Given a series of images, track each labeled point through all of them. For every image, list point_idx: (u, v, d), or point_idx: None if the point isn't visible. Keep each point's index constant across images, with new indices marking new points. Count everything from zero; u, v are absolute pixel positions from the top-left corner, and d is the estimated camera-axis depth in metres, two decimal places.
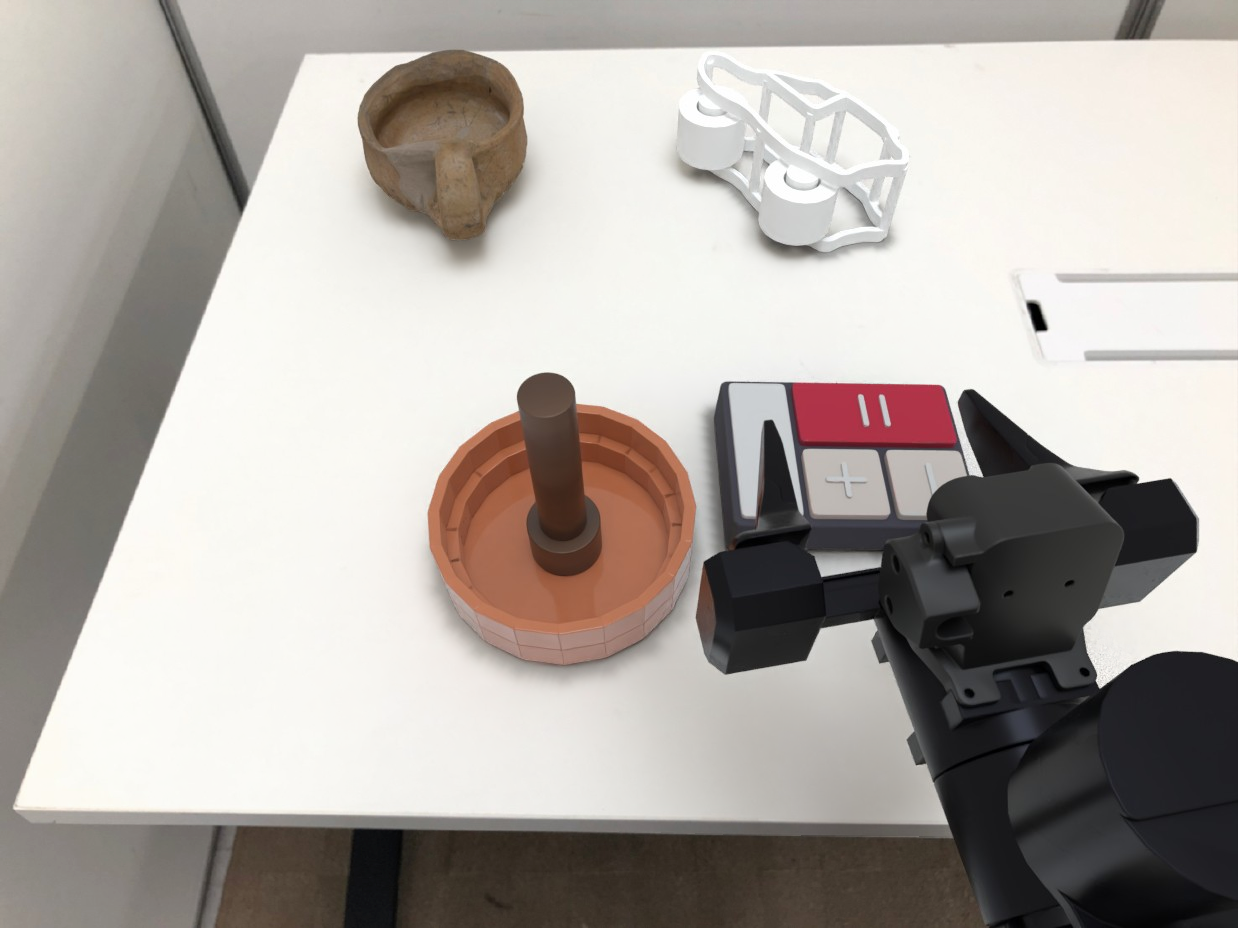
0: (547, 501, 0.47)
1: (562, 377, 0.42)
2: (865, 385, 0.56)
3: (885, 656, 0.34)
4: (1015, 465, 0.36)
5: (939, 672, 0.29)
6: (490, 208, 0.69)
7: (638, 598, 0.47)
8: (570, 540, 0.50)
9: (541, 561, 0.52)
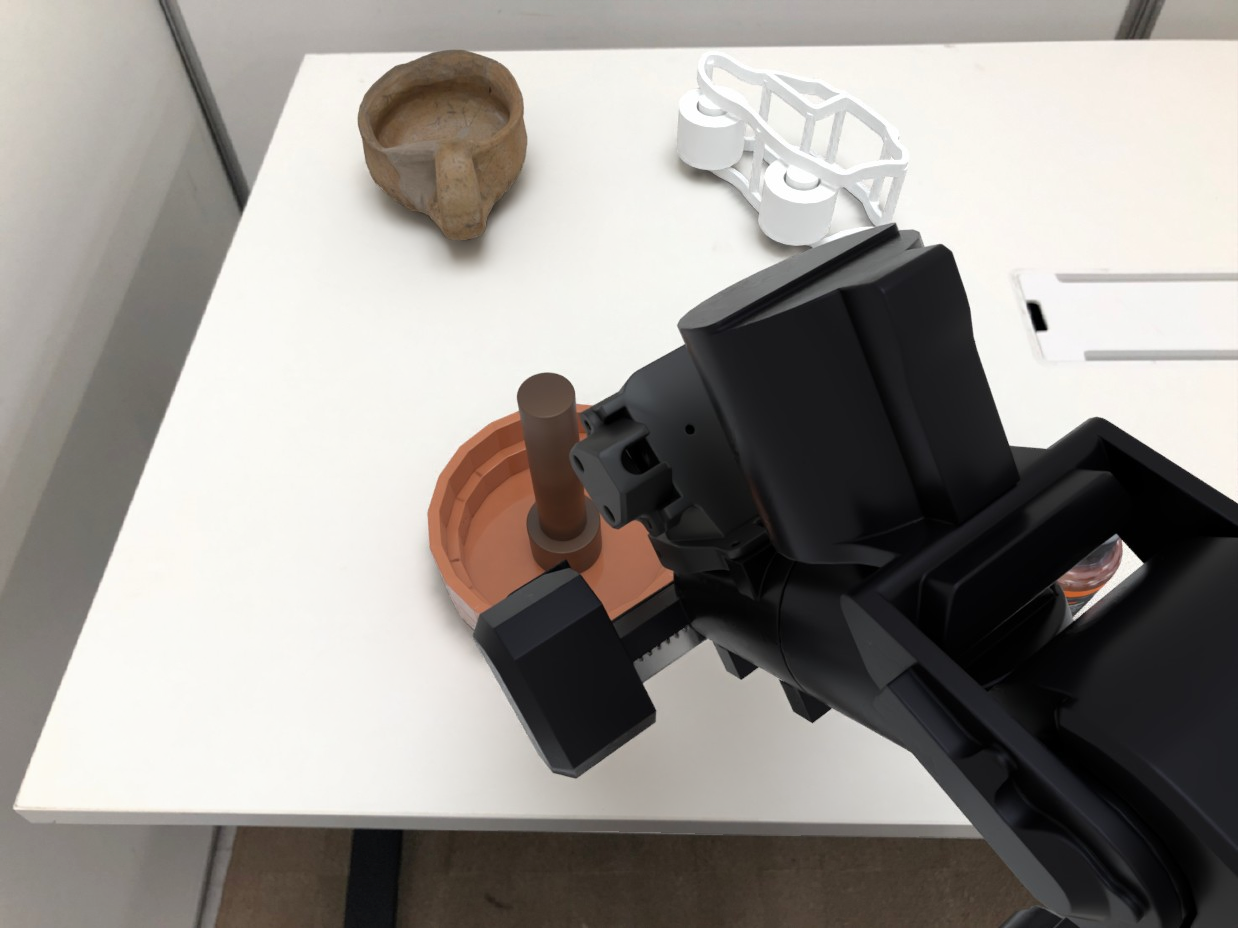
0: (547, 501, 0.47)
1: (562, 377, 0.42)
2: None
3: (734, 661, 0.30)
4: None
5: (710, 559, 0.26)
6: (490, 208, 0.69)
7: (638, 598, 0.47)
8: (570, 540, 0.50)
9: (541, 561, 0.52)
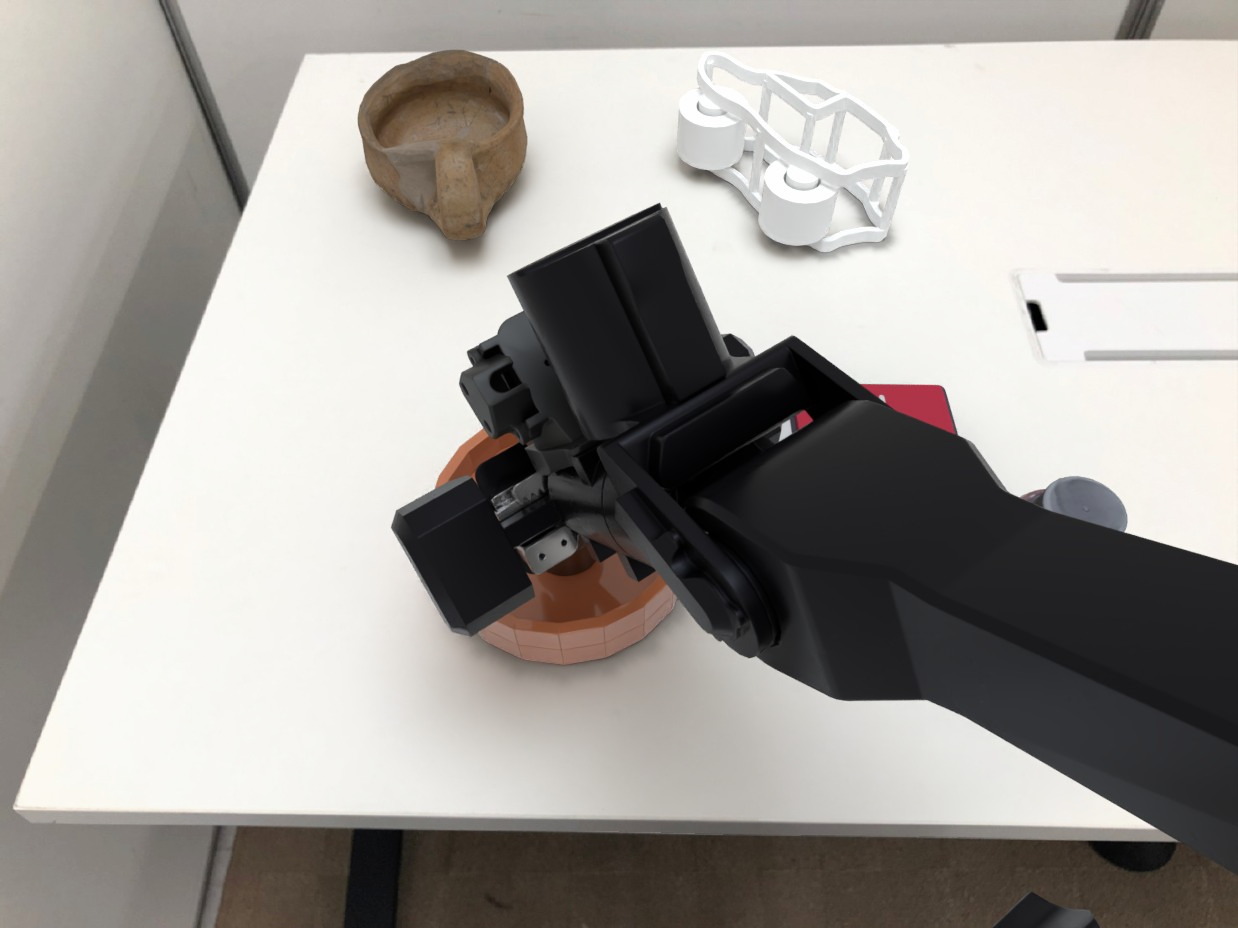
0: None
1: None
2: (865, 385, 0.56)
3: (594, 547, 0.38)
4: None
5: (562, 459, 0.35)
6: (490, 208, 0.69)
7: (638, 598, 0.47)
8: None
9: None
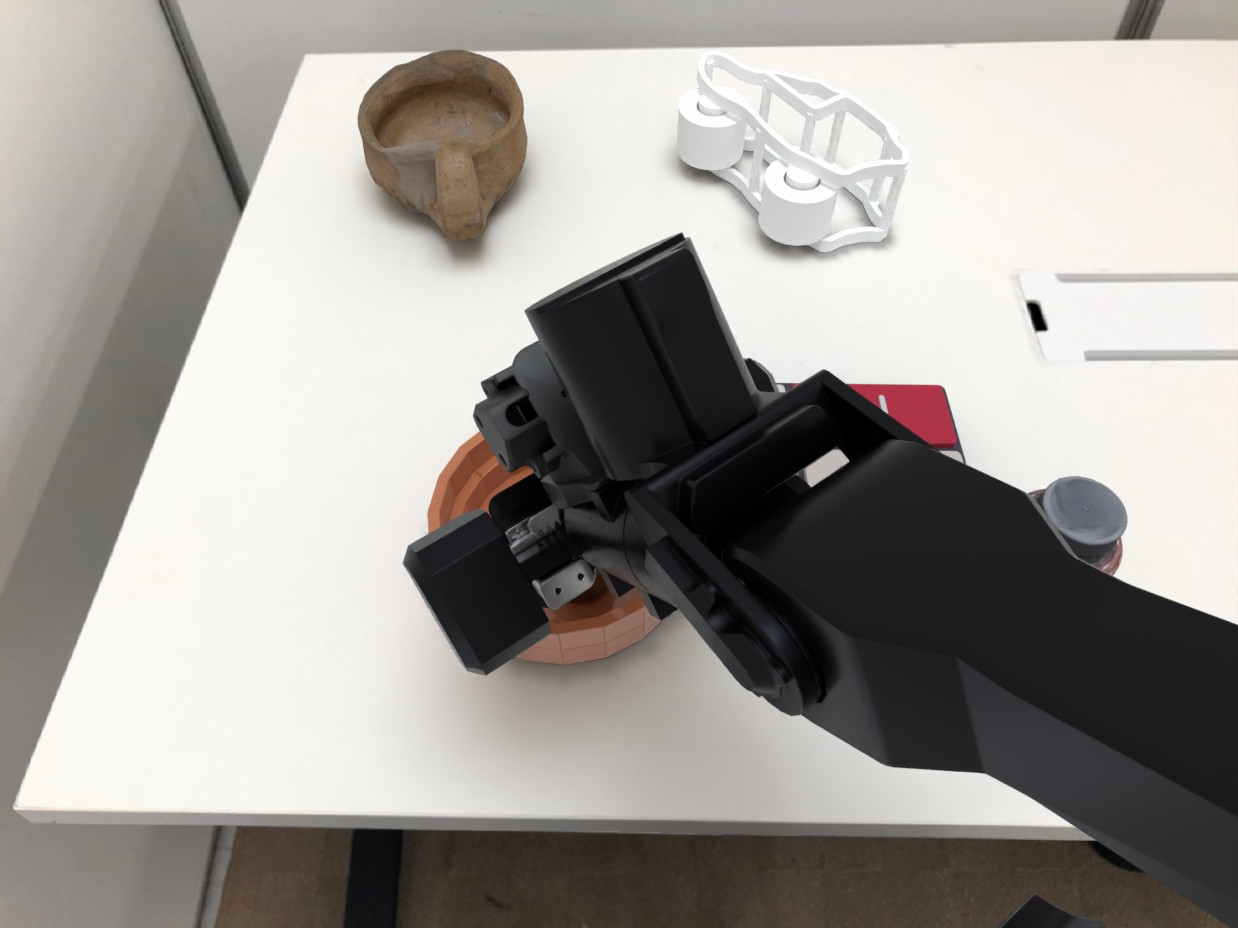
0: None
1: None
2: (865, 385, 0.56)
3: (613, 581, 0.37)
4: None
5: (580, 493, 0.33)
6: (490, 208, 0.69)
7: (638, 598, 0.47)
8: None
9: None
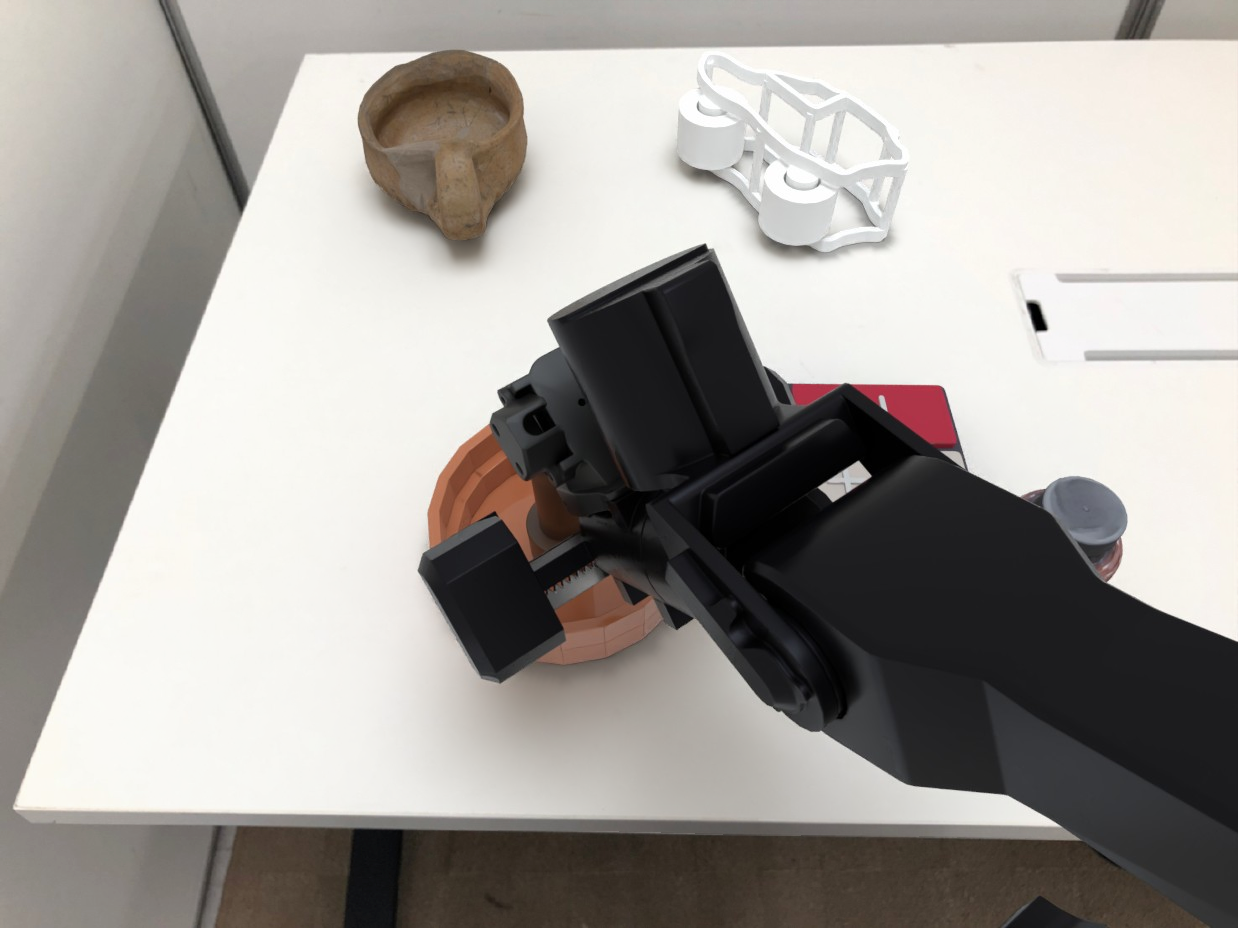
0: (547, 502, 0.47)
1: None
2: (865, 386, 0.56)
3: (627, 590, 0.37)
4: None
5: (597, 502, 0.33)
6: (490, 208, 0.69)
7: None
8: None
9: None
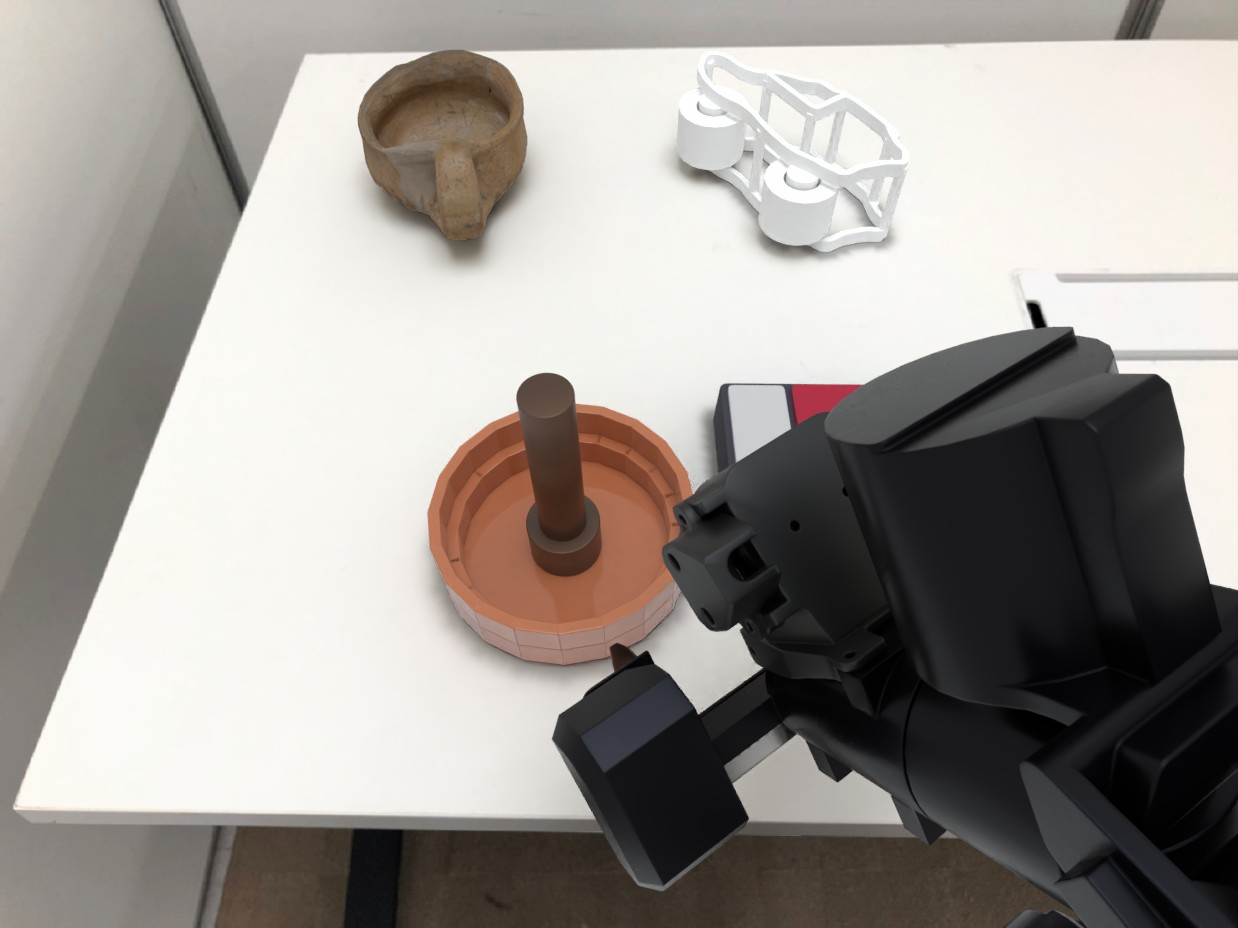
0: (547, 502, 0.47)
1: (561, 377, 0.42)
2: None
3: (831, 763, 0.28)
4: None
5: (819, 667, 0.24)
6: (490, 208, 0.69)
7: (638, 598, 0.47)
8: (570, 540, 0.50)
9: (541, 561, 0.52)
